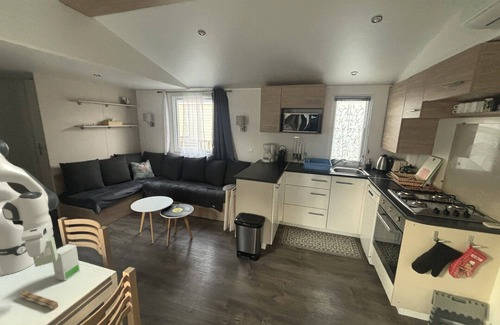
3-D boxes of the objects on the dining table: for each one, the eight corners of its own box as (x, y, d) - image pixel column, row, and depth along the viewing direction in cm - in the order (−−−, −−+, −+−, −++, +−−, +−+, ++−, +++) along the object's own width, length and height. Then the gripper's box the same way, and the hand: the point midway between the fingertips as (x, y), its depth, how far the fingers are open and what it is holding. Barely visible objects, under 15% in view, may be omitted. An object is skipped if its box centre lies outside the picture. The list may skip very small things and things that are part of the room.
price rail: (19, 298, 94) (18, 293, 93) (24, 295, 96) (23, 290, 95) (53, 310, 88) (52, 305, 88) (58, 306, 90) (57, 302, 90)
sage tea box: (35, 267, 92) (29, 245, 90) (38, 262, 95) (32, 241, 93) (56, 261, 95) (51, 240, 93) (58, 256, 99) (53, 236, 97)
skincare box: (64, 281, 104) (59, 254, 101) (54, 279, 105) (49, 252, 102) (81, 270, 112) (76, 245, 109) (71, 268, 113) (67, 243, 110)
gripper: (36, 219, 99) (42, 245, 101) (19, 239, 82) (27, 269, 84) (54, 216, 102) (59, 241, 105) (41, 235, 85) (47, 263, 88)
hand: (45, 254), depth 94 cm, fingers closed on sage tea box, 4 cm apart
